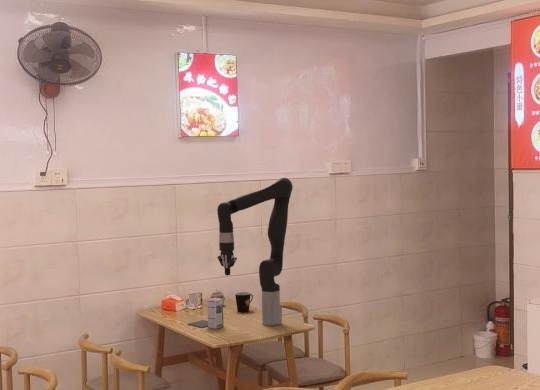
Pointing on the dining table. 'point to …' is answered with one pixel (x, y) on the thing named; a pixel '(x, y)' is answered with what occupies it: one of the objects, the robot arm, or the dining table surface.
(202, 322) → the mat
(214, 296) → the cupcake
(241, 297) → the coffee mug
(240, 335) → the dining table surface
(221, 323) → the syrup box
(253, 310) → the dining table surface
